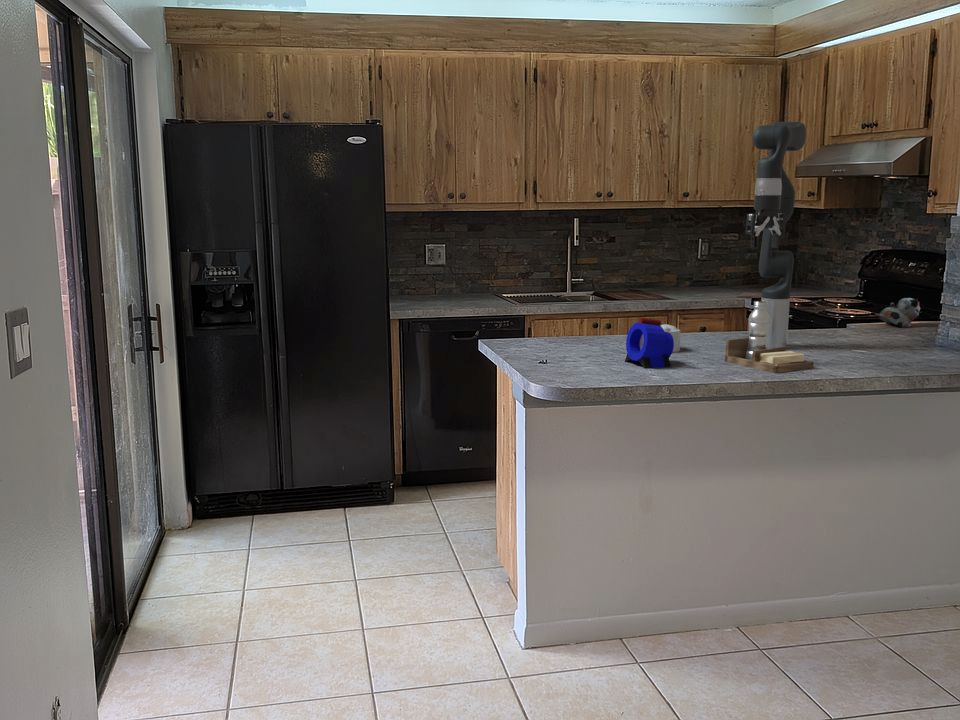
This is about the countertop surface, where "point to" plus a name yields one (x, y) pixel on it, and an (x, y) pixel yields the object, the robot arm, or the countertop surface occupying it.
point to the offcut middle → (780, 363)
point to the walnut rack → (758, 357)
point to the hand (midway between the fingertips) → (764, 248)
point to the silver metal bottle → (758, 328)
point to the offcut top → (781, 357)
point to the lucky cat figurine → (901, 312)
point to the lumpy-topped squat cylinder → (673, 335)
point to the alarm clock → (649, 344)
